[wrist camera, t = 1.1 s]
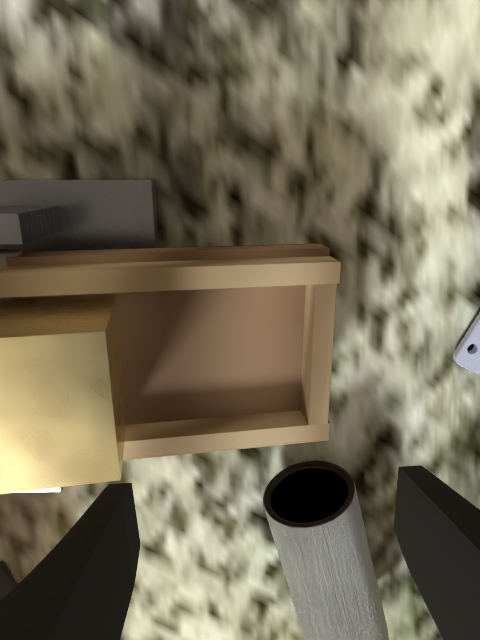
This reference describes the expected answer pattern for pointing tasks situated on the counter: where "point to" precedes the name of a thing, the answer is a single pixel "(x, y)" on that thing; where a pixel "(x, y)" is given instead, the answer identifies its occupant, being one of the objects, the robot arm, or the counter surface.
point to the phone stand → (5, 581)
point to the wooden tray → (206, 338)
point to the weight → (60, 393)
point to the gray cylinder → (325, 552)
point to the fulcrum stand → (78, 218)
